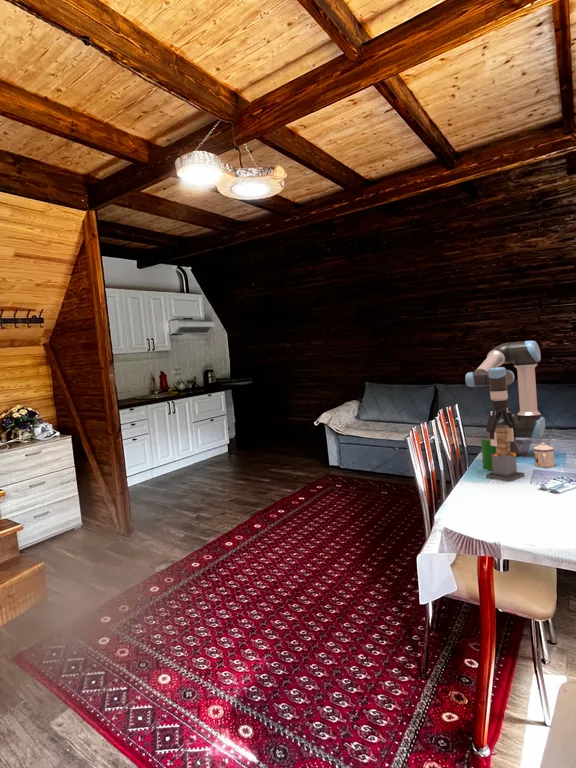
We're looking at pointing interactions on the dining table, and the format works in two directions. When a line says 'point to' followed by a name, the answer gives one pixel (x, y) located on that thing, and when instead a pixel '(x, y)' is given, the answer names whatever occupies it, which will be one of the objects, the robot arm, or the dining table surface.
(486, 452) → the motor
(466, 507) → the dining table surface
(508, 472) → the stand base
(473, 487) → the dining table surface
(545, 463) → the teacup with lid
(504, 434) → the column
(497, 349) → the robot arm
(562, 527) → the dining table surface
